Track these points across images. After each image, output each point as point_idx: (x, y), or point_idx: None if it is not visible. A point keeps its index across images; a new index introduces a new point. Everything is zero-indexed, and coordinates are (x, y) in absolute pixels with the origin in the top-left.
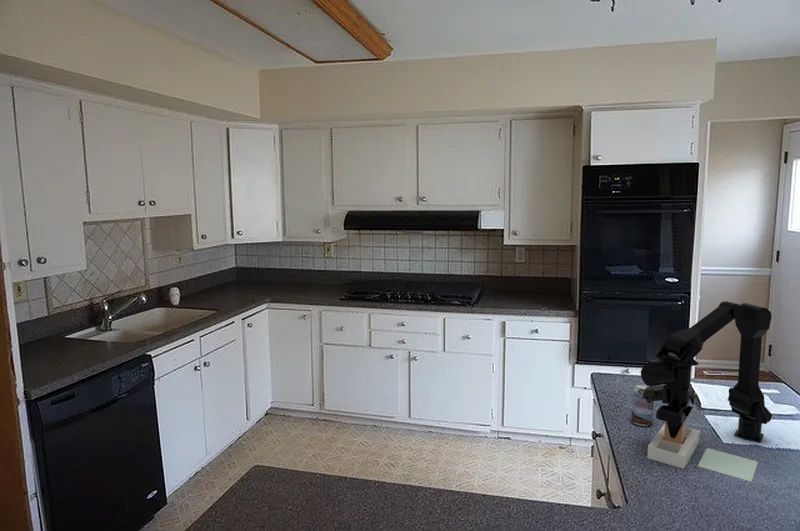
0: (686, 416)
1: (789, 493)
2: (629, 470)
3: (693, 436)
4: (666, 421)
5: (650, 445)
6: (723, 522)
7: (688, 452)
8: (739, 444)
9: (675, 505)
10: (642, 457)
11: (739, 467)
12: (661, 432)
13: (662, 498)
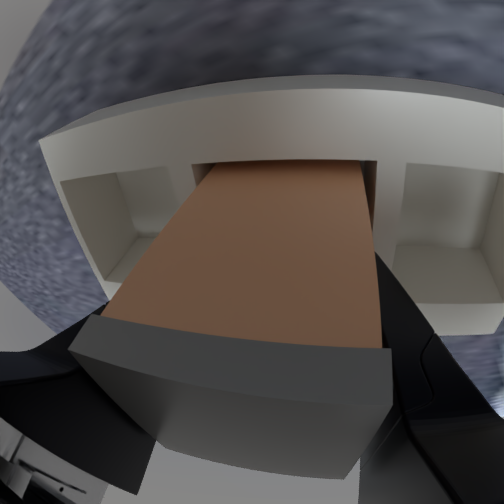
0: (327, 478)
1: None
2: (3, 114)
3: None
4: (38, 347)
5: (51, 147)
6: (58, 333)
7: None
8: (501, 363)
9: (14, 266)
10: (99, 81)
11: None
12: (330, 117)
13: (5, 240)
